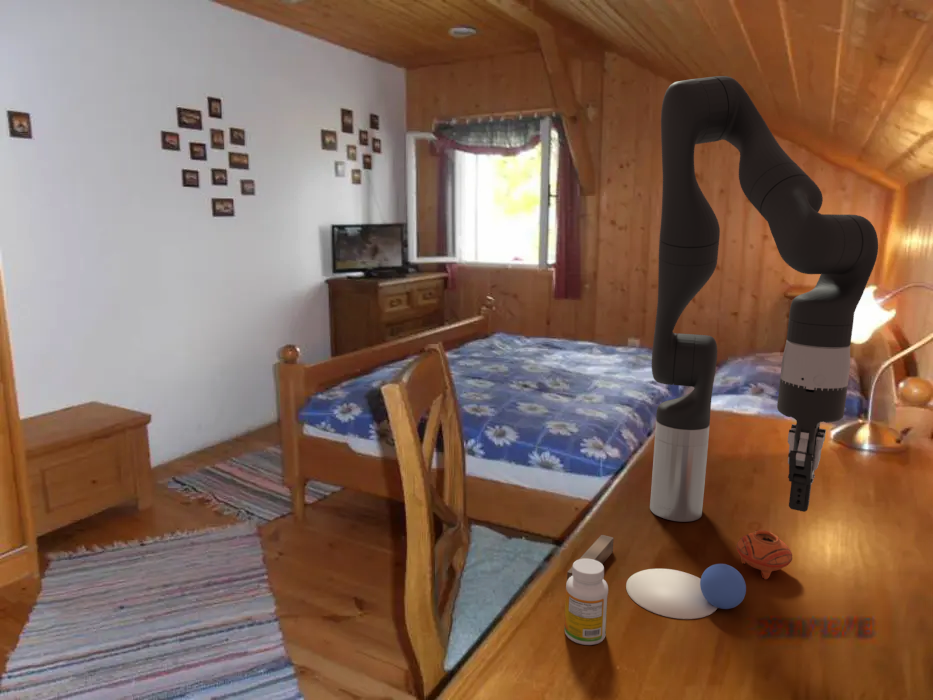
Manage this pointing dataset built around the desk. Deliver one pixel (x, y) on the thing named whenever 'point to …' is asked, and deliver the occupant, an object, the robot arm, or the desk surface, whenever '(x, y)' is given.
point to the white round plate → (669, 593)
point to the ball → (723, 586)
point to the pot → (764, 552)
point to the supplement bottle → (586, 603)
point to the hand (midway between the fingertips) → (798, 508)
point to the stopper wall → (597, 551)
